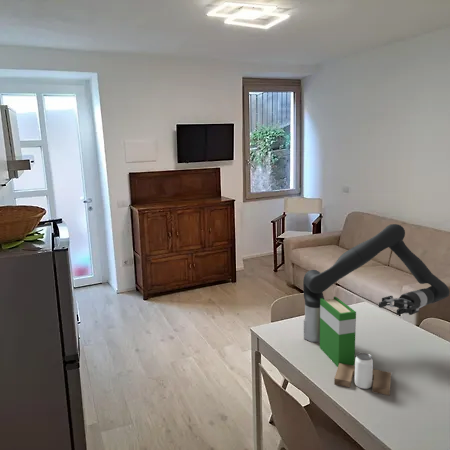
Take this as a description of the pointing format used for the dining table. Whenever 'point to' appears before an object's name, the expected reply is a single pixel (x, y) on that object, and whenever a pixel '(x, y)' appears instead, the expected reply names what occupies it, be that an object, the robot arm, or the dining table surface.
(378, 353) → the dining table surface
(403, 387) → the dining table surface
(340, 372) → the notched board
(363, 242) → the robot arm
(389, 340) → the dining table surface
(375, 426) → the dining table surface
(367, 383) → the can
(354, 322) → the hardback book
